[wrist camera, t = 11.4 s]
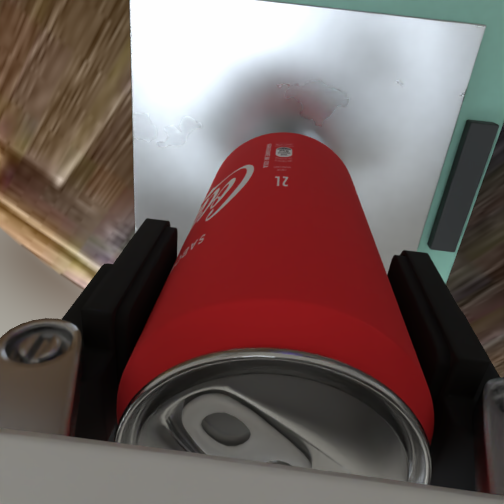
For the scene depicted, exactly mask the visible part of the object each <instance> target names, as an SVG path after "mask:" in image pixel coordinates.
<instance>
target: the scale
mask: <svg viewBox="0 0 504 504" xmlns="http://www.w3.org/2000/svg"><path fill="white" fill-rule="evenodd" d="M268 1H277V2H286V3H295V4H304V5H313V6H322V7H331V8H340V9H349V10H358V11H367V12H376V13H385V14H394V15H403V16H412V17H420V18H429V19H438V20H447V21H456V22H465V23H474V24H483V25H486V29H485V32H484V35H483V38H482V42H481V45H480V48H479V51H478V55H477V58H476V61H475V64H474V68H473V71H472V74H471V77H470V81H469V84H468V87H467V90H466V93H465V97H464V100H463V103H462V106H461V110H460V113H459V116H458V119H457V123H456V126H455V129H454V132H453V136H452V139H451V142H450V145H449V149H448V152H447V155H446V158H445V162H444V165H443V168H442V171H441V175H440V178H439V181H438V184H437V187H436V191H435V194H434V197H433V200H432V204H431V207H430V210H429V213H428V217H427V220H426V223H425V226H424V230H423V233H422V236H421V239H420V243H419V246H418V249H417V252H424V253H428V254H429V256H430V258H431V260H432V261H433V263H434V265H435V267H436V268H437V270H438V272H439V274H440V275H441V277H442V279H443V281H444V282H445V284H446V282H447V280H448V277H449V274H450V271H451V268H452V266H453V263H454V260H455V257H456V254H457V252H458V249H459V246H460V243H461V240H462V238H463V235H464V232H465V229H466V226H467V224H468V221H469V218H470V215H471V212H472V210H473V207H474V204H475V201H476V198H477V196H478V193H479V190H480V187H481V184H482V182H483V179H484V176H485V173H486V170H487V168H488V165H489V162H490V159H491V156H492V154H493V151H494V148H495V145H496V142H497V140H498V137H499V134H500V131H501V128H502V126H503V123H504V0H268Z"/></svg>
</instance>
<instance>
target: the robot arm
mask: <svg viewBox="0 0 504 504" xmlns="http://www.w3.org/2000/svg"><path fill="white" fill-rule="evenodd" d="M177 239H178V231H177V228H176V227H171V226H170V222H169V221H166V220H158V219H150V218H147V219H145V221H144V222H143V224H142V225H141V226H140V228H139V229H138V230H137V232H136V233H135V235H134V236H133V237H132V239H131V240H130V242H129V243H128V244H127V246H126V247H125V249H124V250H123V251H122V253H121V254H120V255H119V257H118V258H117V260H116V261H115V262H114V264H104V265H103V266H102V267H101V268H100V269H99V271H98V272H97V273H96V275H95V276H94V277H93V279H92V280H91V281H90V283H89V284H88V285H87V287H86V288H85V289H84V291H83V292H82V293H81V295H80V296H79V297H78V298H77V300H76V301H75V303H74V304H73V305H72V306H71V308H70V309H69V310H68V312H67V313H66V314H65V316H64V317H63V318H62V320H61V319H47V318H46V319H39V320H32V321H29V322H26V323H23V324H20V325H18V326H16V327H14V328H12V329H10V330H9V331H8V332H7V333H5V334H4V335H3V336H2V337H1V338H0V504H504V377H499V375H498V373H497V371H496V370H495V368H494V366H493V364H492V363H491V361H490V359H489V357H488V356H487V354H486V352H485V350H484V349H483V347H482V345H481V343H480V342H479V340H478V338H477V336H476V335H475V333H474V331H473V329H472V328H471V326H470V324H469V322H468V321H467V319H466V317H465V315H464V314H463V312H462V311H461V310H460V309H459V307H458V305H457V304H456V302H455V300H454V298H453V297H452V295H451V293H450V291H449V289H448V288H447V286H446V284H445V282H444V281H443V279H442V277H441V275H440V274H439V272H438V270H437V268H436V267H435V265H434V263H433V261H432V260H431V258H430V256H429V254H428V253H424V252H416V251H408V250H403V251H402V252H401V254H400V255H394V256H393V258H392V260H391V264H390V267H389V271H388V274H387V276H388V279H389V282H390V284H391V287H392V290H393V292H394V295H395V298H396V301H397V303H398V306H399V309H400V311H401V314H402V317H403V320H404V322H405V325H406V328H407V330H408V333H409V336H410V339H411V341H412V344H413V347H414V349H415V352H416V355H417V358H418V360H419V363H420V366H421V368H422V371H423V374H424V377H425V379H426V382H427V385H428V388H429V391H430V394H431V398H432V402H433V409H434V430H433V436H432V440H431V445H430V448H431V452H432V459H433V474H432V482H431V485H425V484H418V483H411V482H404V481H397V480H390V479H383V478H376V477H368V476H361V475H354V474H347V473H339V472H332V471H325V470H317V469H310V468H303V467H296V466H288V465H281V464H274V463H266V462H259V461H251V460H244V459H237V458H229V457H222V456H215V455H207V454H200V453H192V452H184V451H177V450H169V449H161V448H154V447H146V446H138V445H131V444H123V443H115V442H114V438H115V433H116V429H117V426H118V424H117V394H118V388H119V384H120V380H121V377H122V374H123V372H124V369H125V367H126V365H127V363H128V361H129V358H130V356H131V354H132V352H133V350H134V348H135V346H136V344H137V341H138V339H139V337H140V335H141V333H142V331H143V329H144V327H145V324H146V322H147V320H148V318H149V316H150V314H151V312H152V310H153V308H154V305H155V303H156V301H157V299H158V297H159V295H160V293H161V291H162V288H163V286H164V284H165V282H166V280H167V278H168V276H169V274H170V271H171V269H172V267H173V265H174V263H175V261H176V259H177Z"/></svg>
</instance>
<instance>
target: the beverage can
mask: <svg viewBox="0 0 504 504" xmlns="http://www.w3.org/2000/svg"><path fill="white" fill-rule="evenodd" d="M117 424H118V426H117V429H116V433H115V438H114V442H115V443H123V444H131V445H138V446H146V447H154V448H161V449H169V450H177V451H184V452H192V453H200V454H207V455H215V456H222V457H229V458H237V459H244V460H251V461H259V462H266V463H274V464H281V465H288V466H296V467H303V468H310V469H317V470H325V471H332V472H339V473H347V474H354V475H361V476H368V477H376V478H383V479H390V480H397V481H404V482H411V483H418V484H425V485H431V482H432V474H433V459H432V452H431V448H430V445H431V440H432V436H433V430H434V409H433V402H432V398H431V394H430V391H429V388H428V385H427V382H426V379H425V377H424V374H423V371H422V368H421V366H420V363H419V360H418V358H417V355H416V352H415V349H414V347H413V344H412V341H411V339H410V336H409V333H408V330H407V328H406V325H405V322H404V320H403V317H402V314H401V311H400V309H399V306H398V303H397V301H396V298H395V295H394V292H393V290H392V287H391V284H390V282H389V279H388V276H387V273H386V271H385V268H384V265H383V263H382V260H381V257H380V254H379V252H378V249H377V246H376V244H375V241H374V238H373V235H372V233H371V230H370V227H369V224H368V222H367V219H366V216H365V214H364V211H363V208H362V205H361V203H360V200H359V197H358V195H357V192H356V189H355V186H354V184H353V181H352V178H351V176H350V174H349V171H348V169H347V168H346V166H345V164H344V163H343V162H342V160H341V159H340V158H339V157H338V156H337V154H336V153H335V152H333V151H332V150H331V149H330V148H329V147H327V146H326V145H324V144H323V143H321V142H319V141H317V140H316V139H313V138H311V137H308V136H305V135H301V134H297V133H288V132H278V133H270V134H265V135H261V136H258V137H255V138H253V139H251V140H249V141H247V142H245V143H243V144H242V145H240V146H239V147H238V148H236V149H235V150H234V151H233V152H232V153H231V154H230V155H229V156H228V157H227V158H226V159H225V161H224V162H223V163H222V165H221V166H220V168H219V170H218V172H217V174H216V176H215V178H214V180H213V182H212V184H211V187H210V189H209V191H208V193H207V195H206V197H205V199H204V201H203V204H202V206H201V208H200V210H199V212H198V214H197V216H196V218H195V221H194V223H193V225H192V227H191V229H190V231H189V233H188V235H187V237H186V240H185V242H184V244H183V246H182V248H181V250H180V252H179V254H178V257H177V259H176V261H175V263H174V265H173V267H172V269H171V271H170V274H169V276H168V278H167V280H166V282H165V284H164V286H163V288H162V291H161V293H160V295H159V297H158V299H157V301H156V303H155V305H154V308H153V310H152V312H151V314H150V316H149V318H148V320H147V322H146V324H145V327H144V329H143V331H142V333H141V335H140V337H139V339H138V341H137V344H136V346H135V348H134V350H133V352H132V354H131V356H130V358H129V361H128V363H127V365H126V367H125V369H124V372H123V374H122V377H121V380H120V384H119V388H118V394H117Z"/></svg>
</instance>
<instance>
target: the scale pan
mask: <svg viewBox="0 0 504 504" xmlns="http://www.w3.org/2000/svg"><path fill="white" fill-rule="evenodd" d="M129 10H130V48H131V86H132V124H133V162H134V200H135V233H136V232H137V230H138V229H139V228H140V226H141V225H142V224H143V222H144V221H145V219H147V218H150V219H158V220H166V221H169V222H170V226H171V227H176V228H177V231H178V239H177V257H178V254H179V252H180V250H181V248H182V246H183V244H184V242H185V240H186V237H187V235H188V233H189V231H190V229H191V227H192V225H193V223H194V221H195V218H196V216H197V214H198V212H199V210H200V208H201V206H202V204H203V201H204V199H205V197H206V195H207V193H208V191H209V189H210V187H211V184H212V182H213V180H214V178H215V176H216V174H217V172H218V170H219V168H220V166H221V165H222V163H223V162H224V161H225V159H226V158H227V157H228V156H229V155H230V154H231V153H232V152H233V151H234V150H235V149H236V148H238V147H239V146H240V145H242V144H243V143H245V142H247V141H249V140H251V139H253V138H255V137H258V136H261V135H265V134H270V133H278V132H288V133H297V134H301V135H305V136H308V137H311V138H313V139H316V140H317V141H319V142H321V143H323V144H324V145H326V146H327V147H329V148H330V149H331V150H332V151H333V152H335V153H336V154H337V156H338V157H339V158H340V159H341V160H342V162H343V163H344V164H345V166H346V168H347V169H348V171H349V174H350V176H351V178H352V181H353V184H354V186H355V189H356V192H357V195H358V197H359V200H360V203H361V205H362V208H363V211H364V214H365V216H366V219H367V222H368V224H369V227H370V230H371V233H372V235H373V238H374V241H375V244H376V246H377V249H378V252H379V254H380V257H381V260H382V263H383V265H384V268H385V271H386V273H387V274H388V271H389V267H390V264H391V260H392V258H393V256H394V255H400V254H401V252H402V251H403V250H408V251H416V252H417V249H418V246H419V243H420V239H421V236H422V233H423V230H424V226H425V223H426V220H427V217H428V213H429V210H430V207H431V204H432V200H433V197H434V194H435V191H436V187H437V184H438V181H439V178H440V175H441V171H442V168H443V165H444V162H445V158H446V155H447V152H448V149H449V145H450V142H451V139H452V136H453V132H454V129H455V126H456V123H457V119H458V116H459V113H460V110H461V106H462V103H463V100H464V97H465V93H466V90H467V87H468V84H469V81H470V77H471V74H472V71H473V68H474V64H475V61H476V58H477V55H478V51H479V48H480V45H481V42H482V38H483V35H484V32H485V29H486V25H483V24H474V23H465V22H456V21H447V20H438V19H429V18H420V17H412V16H403V15H394V14H385V13H376V12H367V11H358V10H349V9H340V8H331V7H322V6H313V5H304V4H295V3H286V2H277V1H268V0H129Z"/></svg>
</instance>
